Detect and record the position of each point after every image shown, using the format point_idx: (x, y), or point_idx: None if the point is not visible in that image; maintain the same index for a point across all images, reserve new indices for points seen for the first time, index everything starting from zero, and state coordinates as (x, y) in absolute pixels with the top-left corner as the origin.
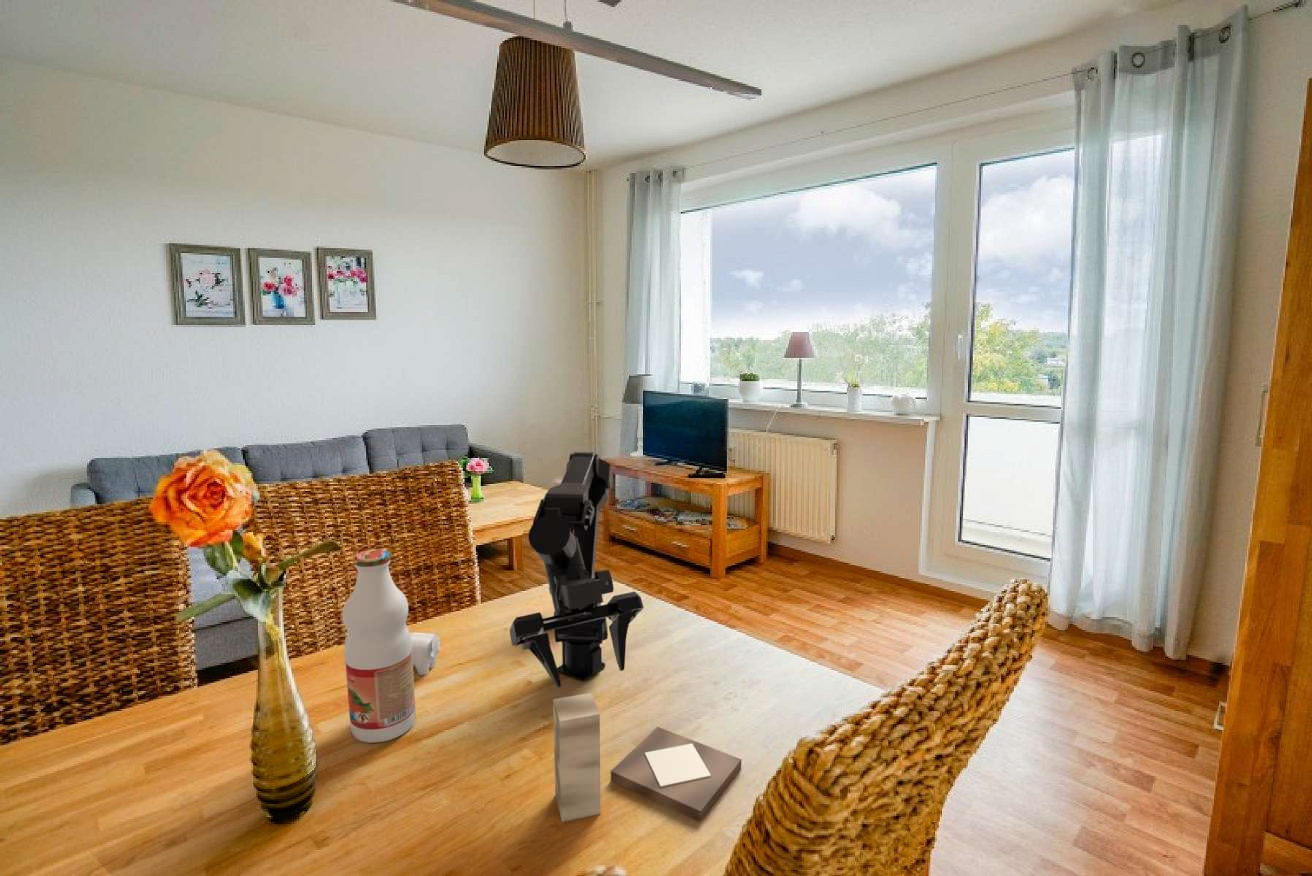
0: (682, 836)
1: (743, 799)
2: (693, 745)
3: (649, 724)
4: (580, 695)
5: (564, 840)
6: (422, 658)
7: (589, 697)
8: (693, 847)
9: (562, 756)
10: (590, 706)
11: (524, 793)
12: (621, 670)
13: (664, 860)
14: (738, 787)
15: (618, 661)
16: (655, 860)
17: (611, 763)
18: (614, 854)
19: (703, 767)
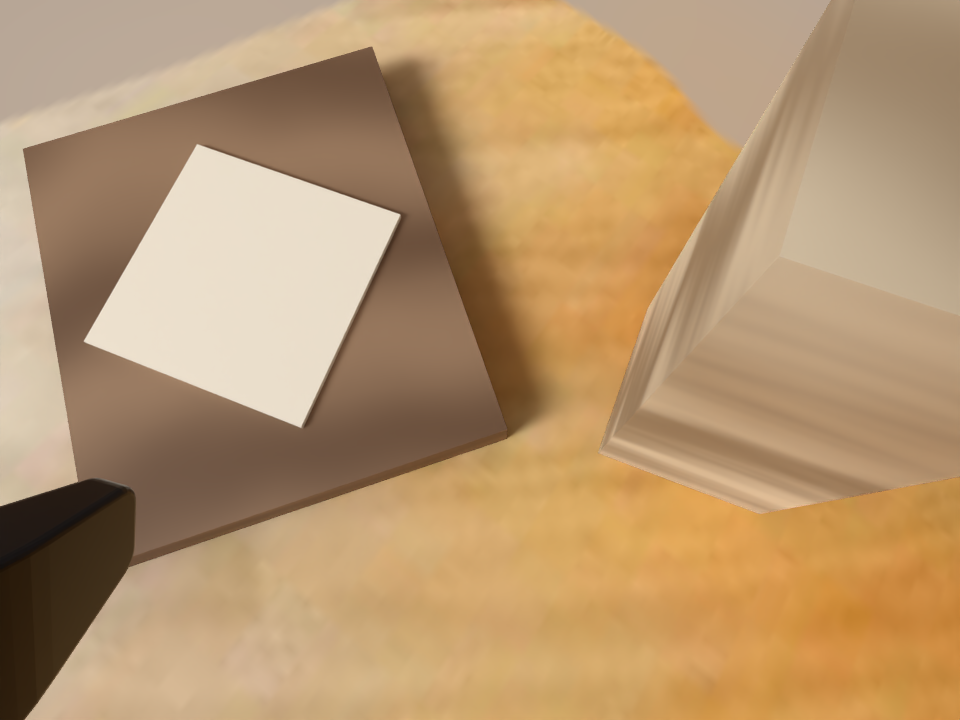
0: (471, 67)
1: (184, 67)
2: (87, 335)
3: (76, 681)
4: (920, 283)
5: None
6: None
7: (838, 194)
8: (474, 19)
9: None
10: (903, 59)
11: (878, 620)
12: (133, 516)
13: (581, 32)
14: None
15: (46, 621)
16: (605, 47)
17: (433, 538)
18: (704, 134)
19: (181, 192)
